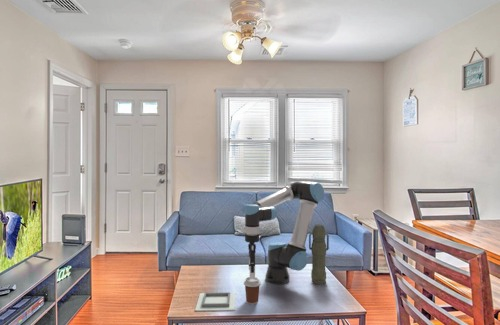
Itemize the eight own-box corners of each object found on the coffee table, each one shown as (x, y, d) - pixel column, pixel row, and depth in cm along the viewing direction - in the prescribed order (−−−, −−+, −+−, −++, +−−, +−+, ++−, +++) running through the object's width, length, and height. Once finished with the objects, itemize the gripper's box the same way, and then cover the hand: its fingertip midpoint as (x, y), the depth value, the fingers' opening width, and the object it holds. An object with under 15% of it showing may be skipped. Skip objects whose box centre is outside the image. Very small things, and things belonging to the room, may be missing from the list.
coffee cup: (241, 303, 166) (241, 281, 166) (247, 296, 174) (247, 275, 174) (257, 306, 163) (257, 283, 163) (263, 299, 171) (263, 277, 171)
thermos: (330, 284, 190) (330, 226, 190) (310, 284, 190) (311, 226, 190) (326, 279, 199) (326, 223, 199) (307, 279, 199) (308, 223, 199)
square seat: (235, 293, 178) (235, 290, 178) (235, 310, 158) (235, 306, 158) (200, 294, 178) (200, 290, 178) (195, 311, 158) (195, 307, 158)
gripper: (244, 228, 180) (244, 266, 180) (245, 239, 156) (245, 282, 156) (257, 228, 181) (257, 266, 181) (260, 239, 156) (260, 282, 156)
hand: (251, 273), depth 168 cm, fingers open, 13 cm apart
